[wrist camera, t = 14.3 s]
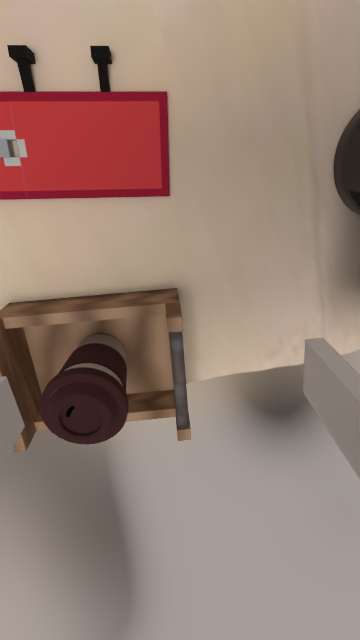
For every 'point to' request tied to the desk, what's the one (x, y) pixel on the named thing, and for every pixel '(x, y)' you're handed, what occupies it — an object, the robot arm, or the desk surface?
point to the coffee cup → (88, 393)
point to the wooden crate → (88, 319)
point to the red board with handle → (82, 139)
